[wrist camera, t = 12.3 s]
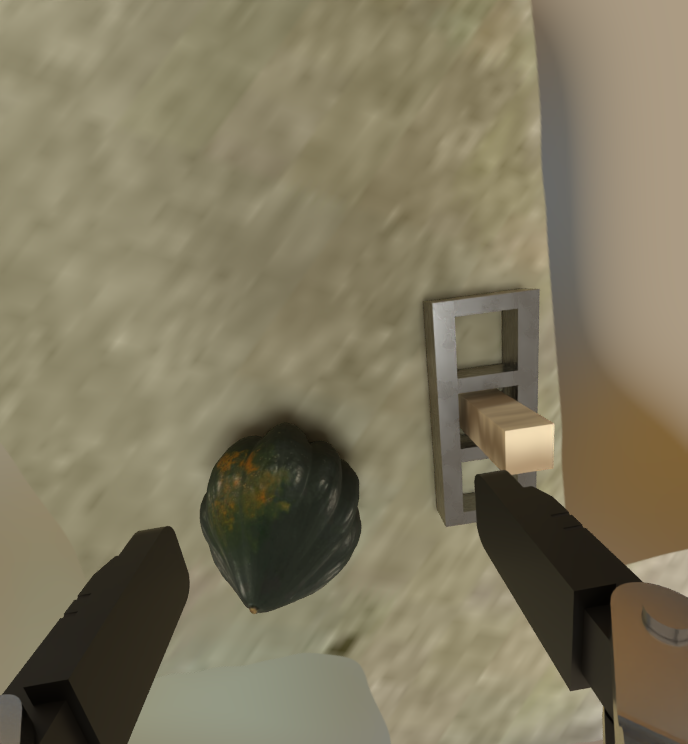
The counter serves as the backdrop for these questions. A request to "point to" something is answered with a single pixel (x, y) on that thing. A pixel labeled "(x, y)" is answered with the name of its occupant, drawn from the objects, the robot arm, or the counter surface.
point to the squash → (280, 517)
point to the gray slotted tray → (475, 385)
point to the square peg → (507, 431)
